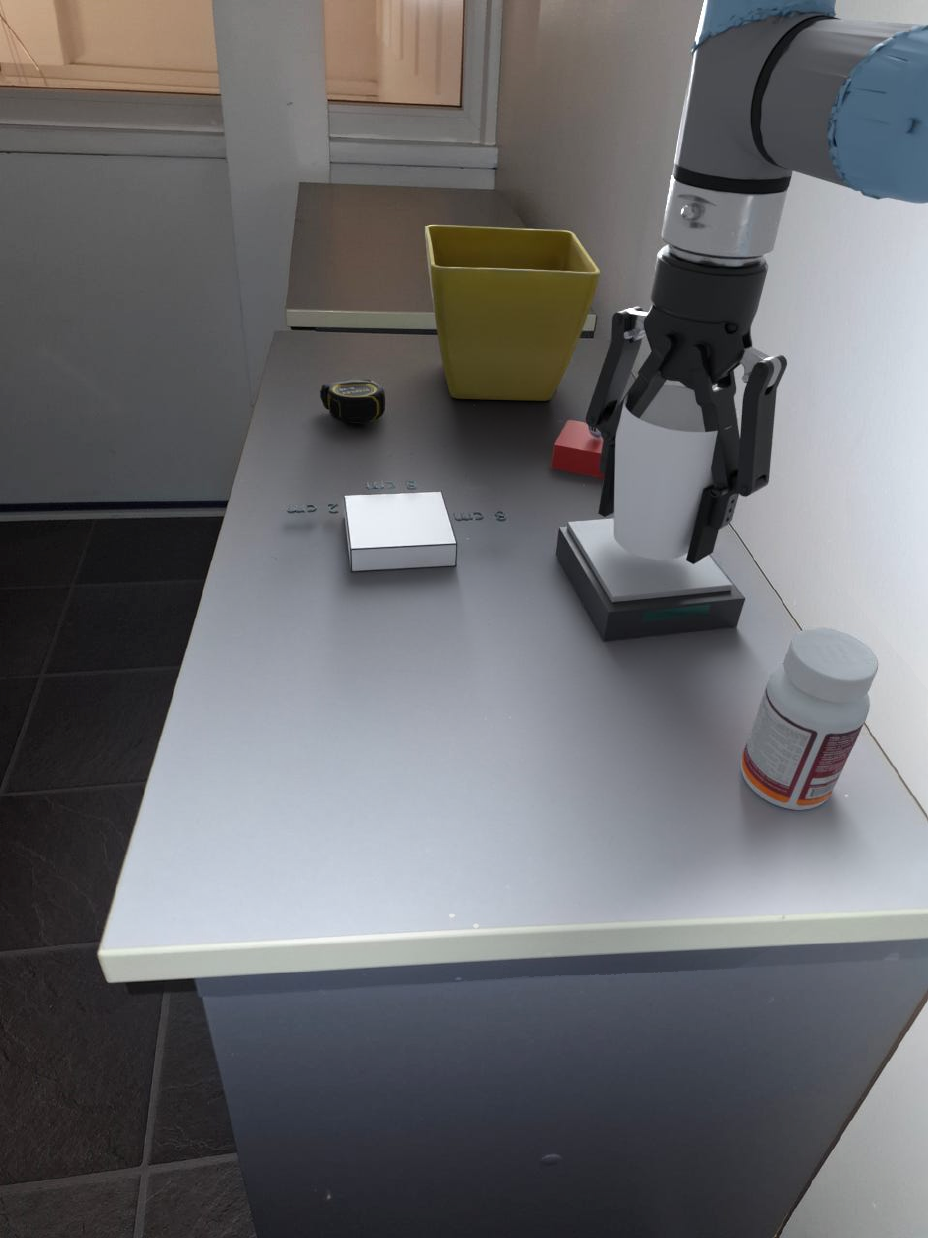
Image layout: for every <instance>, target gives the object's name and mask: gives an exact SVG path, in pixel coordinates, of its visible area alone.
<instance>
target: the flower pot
mask: <svg viewBox="0 0 928 1238" xmlns="http://www.w3.org/2000/svg"><path fill="white" fill-rule="evenodd" d="M424 235H425V247H426V260H427V268H428V277H429V284H430V291H431V300H432V304H433V305H432V306H433V311H434V318H435V325H436V326H435V327H436V334H437V341H438V345H439V352H440V357H441V361H442V362H441V363H442V368H443V371H444V376H445V380H446V384H447V387H448V391H449V395H450V396H451V397H452V398H454V399H459V400H491V401H492V400H494V401H495V400H496V401H497V400H500V401H534V402H536V401H537V402H546V401H549V400H552V397H553V395H554V394H555V392H556V391H557V388H558V387H559V384H560V382H561V380H562V379H563V376H564V374H565V372H566V370H567V368H568V366H569V364H570V361H571V360H572V357H573V354H574V353H575V349H576V347H577V345H578V343H579V340H580V338H581V335H582V333H583V329H584V327H585V324H586V322H587V318H588V315H589V312H590V309H591V306H592V304H593V301H594V297H595V294H596V291H597V287H598V283H599V279H600V275H601V269H600V268H599V267H598V266H597V265H596V263H595V261H594V260H593V259H592V257H591V255H589V253H588V252H587V250H586V249H585V247H584V245H583V244H582V243H581V242H580V240H579V239H578V237H577V235H576V234H575V233H574V232H573V231H570V230H563V229H540V228H520V227H519V228H518V227H517V228H516V227H515V228H514V227H497V226H494V227H493V226H473V225H449V224H448V225H447V224H445V225H444V224H429V225H426V226H424Z"/></svg>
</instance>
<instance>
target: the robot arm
mask: <svg viewBox="0 0 928 1238" xmlns="http://www.w3.org/2000/svg"><path fill="white" fill-rule="evenodd" d="M836 2H837V0H704V1H703V6H702V8H701V9H702V10H701V14H700V18H699V22H698V26H697V31H696V35H695V39H694V41H693V45H692V46H691V48H690V57H691V58H690V59H691V60H690V64H689V71H688V78H687V83H686V89H685V95H684V102H683V108H682V114H681V118H680V125H679V131H678V138H677V142H676V149H675V155H674V160H673V169H672V175H671V179H670V184H669V190H668V194H667V200H666V202H667V203H666V208H665V213H664V217H663V224H662V229H661V235H660V237H661V239H662V240H663V242H664V243H665V244H666V245H664V246H663V247H661V249H660V250H659V251H658V252H657V255H656V261H655V265H654V266H655V267H654V272H653V278H652V284H651V288H650V301H651V303H652V304H651V307H650V309H649V311H648V312H646V311H644V309H643V308H641V307H640V306H634V307H631V308H630V307H629V308H627V309H623V310H620V311H616V312H615V313H613V315H612V317H611V333H610V344H609V347H608V350H607V352H606V356H605V359H604V361H603V365H602V368H601V371H600V373H599V376H598V379H597V382H596V385H595V388H594V390H593V394H592V397H591V400H590V403H589V406H588V409H587V412H586V415H585V423H587V425H588V426H589V427H596V428H597V429H598V430H599V431H600V432H601V437H602V439H603V445H602V451H601V458H600V464H599V470H600V473H602V474H604V478H603V481H602V482H603V483H602V488H601V494H600V499H599V506H598V511H597V513H598V515H600V516H602V517H603V518H607V517H608V516H610V515H613V514H614V481H615V439H616V432H617V428H618V425H619V421H620V417H621V412H622V408H623V403H624V399H625V397H626V395H627V394H628V398H627V402H626V408H627V410H628V411H629V412H630V413H631V414H633V415H634V416H635V417H637V418H640V417H641V416H642V414H643V413H644V411H645V410H646V409H647V407H648V406H649V404H650V403H651V402H652V400H653V399H654V397H655V396H656V395H657V393H658V392H659V390H660V389H661V388H662V386H663V385H665V383H667V381H669V382H679V383H680V384H682V386H684V387H687V388H689V389H692V390H694V392H695V398H696V403H697V404H698V405H699V406H700V407H701V409H702V415H703V421H704V428H705V432H712V431H718V432H717V437H716V443H715V448H714V454H713V460H712V466H711V471H712V477H713V483H714V484H713V485H711V486H709V487H707V488H705V489H703V493H702V497H701V501H700V505H699V509H698V513H697V518H696V522H695V526H694V530H693V534H692V538H691V542H690V546H689V550H688V554H687V558H686V560H687V561H689V562H690V563H692V564H695V563H696V562H698V561H700V560H701V559H703V558H705V557H706V556H708V555H712V554H713V553H714V550H715V547H716V546H715V545H716V543H717V538H718V535H719V531H720V530H721V529H723V528H725V527H727V526H728V525H729V524H730V523H731V522H732V521H733V517H734V514H735V510H736V506H737V503H738V500H739V495H740V496H741V497H743V498H745V497H746V498H747V497H749V496H751V495H752V494H754V493H756V492H758V491H760V490H761V489H764V488H765V487H767V486H768V485H769V483H770V472H771V464H772V463H771V462H772V461H771V460H772V450H773V449H772V448H773V438H774V426H775V416H776V405H777V404H776V403H777V392H778V391H777V390H778V387H779V385H780V383H781V380H782V378H783V377H784V373H785V372H786V369H787V366H788V360H787V358H786V357H785V356H784V354H776V355H773V356H770V355H768V354H766V353H764V352H762V351H761V350H759V349H757V348H756V347H753V339H752V333H751V331H752V330H751V329H752V324H753V322H754V320H755V316H756V314H757V312H758V309H759V305H760V301H761V297H762V294H763V290H764V286H765V283H766V279H767V274H768V271H769V264H768V263H767V259H765V257H766V256H768V254H770V253H771V252H772V251H774V248H775V244H776V240H777V236H778V232H779V228H780V222H781V219H782V215H783V211H784V207H785V202H786V198H787V194H788V189H789V187H790V184H791V180H792V176H793V172H796V173H800V174H801V175H802V174H803V175H806V176H809V177H812V178H815V179H818V180H822V181H825V182H828V183H832V184H835V185H839V186H842V187H844V188H848V189H851V190H852V191H854V192H860V193H861V195H862V196H864V197H868V198H871V199H875V200H881V199H892V200H896V201H901V202H906V203H910V204H918V205H919V204H928V24H913V23H900V22H899V23H898V22H885V21H871V20H855V19H853V20H852V19H842V18H838V17H836V15H837V13H836V10H835V8H836ZM645 336H646V340H647V342H648V345H649V348H650V351H651V352H650V353H649V355H648V356H647V357H646V359H645V361H644V362H643V364H642V365H641V367H640V368H639V370H638V371H637V377H636V378H635V380H634V381H633V383H632V385H631V386H630V387H629V389H628V390H627V392H626V393H625V389H626V387H627V384H628V382H629V380H630V379H629V378H630V376H631V374H632V370H633V368H634V365H635V362H636V359H637V357H638V354H639V351H640V348H641V346H642V341H643V339H644V338H645ZM740 365H741V366H742V367H743V375H742V377H741V381H742V383H744V384H745V387H744V391H743V395H742V401H741V402H742V404H741V407H742V408H741V416H740V417H741V418H740V419H741V420H740V429H739V423H738V421H737V416H736V410H737V408H736V402H735V395H736V393H737V384H736V376H735V370H736V369H737V368H738V367H739V366H740ZM715 385H716V387H714V386H715ZM713 387H714V388H713ZM624 393H625V394H624ZM623 395H624V397H623ZM735 408H736V409H735ZM730 426H731V427H730ZM728 427H730V428H728ZM725 428H728V429H725Z"/></svg>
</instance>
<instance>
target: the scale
mask: <svg viewBox="0 0 928 1238" xmlns="http://www.w3.org/2000/svg"><path fill="white" fill-rule="evenodd" d="M566 524H567V525H566V526H559V527H558V531H557V538H556V539H557V540H556V546H555V556H556V558H557V561H558V562H559V564H560V566H561V567H562V569H563V571H564V573H565V575H566V577H567V578H568V580H569V582H570V584H571V585H572V587H573V590H574V592H575V593H576V595H577V597H578V598H579V600H580V602H581V604H582V606H583V607H584V609H585V611H586V612H587V614H588V616H589V618H590V620H591V622H592V624H593V626H594V627H595V629H596V631H597V633H598V635H599V637H600V638H601V640H602V642H611V641H620V640H629V639H638V638H646V637H655V636H663V635H664V636H665V635H673V634H675V635H676V634H682V633H683V634H684V633H693V632H700V631H701V632H702V631H709V630H711V631H712V630H719V629H720V630H721V629H728V628H736V627H738V624H739V621H740V617H741V614H742V611H743V608H744V605H745V602H746V597H745V596H744V595H743V593H742V592H741V591H740V590H739V588H738V587H737V586H736V584H735V583H734V582H733V581H732V580H731V578H730V577H729V576H728V575H727V573H726V572H725V571H724V570H723V568H722V567H721V566H720V565H719V563H718V562H717V560H715V559H714V557H713V556H712V554H710V555H708V556H706V557H705V558H703V559H701V560H700V561H698V562H696V563H695V564H692V563H690V562H689V561H687V560H686V558H687V554H688V553H687V554H686V555H684V556H682V557H679V558H676V559H671V560H652V559H646V558H642V557H639V556H636V555H634V554H632V553H630V552H628V551H626V550H625V549H623V548H622V547H621V546H620V545H619V544H618V543H617V542H616V540H615V538H614V517H613V518H603V519H602V518H601V519H589V520H577V521H568V522H567V523H566Z"/></svg>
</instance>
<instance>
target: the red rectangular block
mask: <svg viewBox="0 0 928 1238" xmlns="http://www.w3.org/2000/svg"><path fill="white" fill-rule="evenodd" d="M602 445H603V439H602V437H601V432H600V431H599V430H598V429H597V428H596V427H589V426H588V425H587V423H586V422H583V421H578V420H573V419H568V420H567V421H566V422H565V424H564V426H563V428H562V430H561V431H560V434H559V435H558V437H557V438H556V440H555V442H554V444H553V451H552V459H551V469H555V470H559V471H564V472H565V471H566V472H571V473H575V474H579V475H586V476H590V477H595V478H601V479H604V474H602V473H600V470H599V464H600V458H601V451H602Z"/></svg>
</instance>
